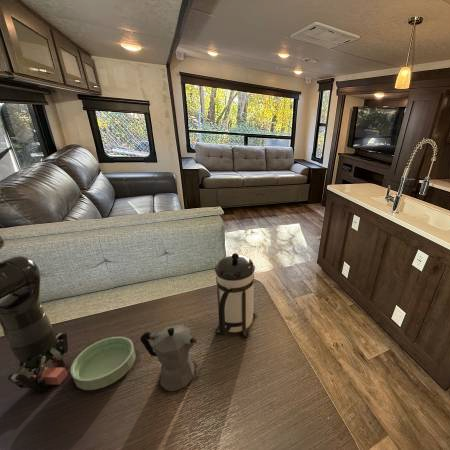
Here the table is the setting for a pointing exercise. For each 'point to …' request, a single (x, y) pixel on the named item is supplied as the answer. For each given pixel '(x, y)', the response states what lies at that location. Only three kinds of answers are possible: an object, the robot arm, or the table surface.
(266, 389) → the table surface
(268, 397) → the table surface
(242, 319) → the coffee press
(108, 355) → the bowl
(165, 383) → the coffeepot
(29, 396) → the table surface
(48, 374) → the eraser
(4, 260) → the robot arm
